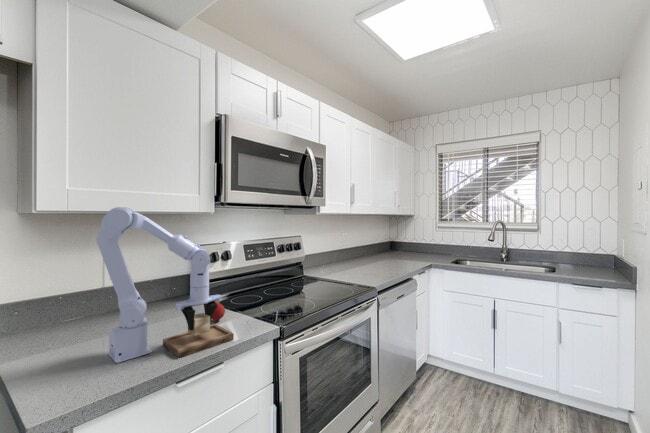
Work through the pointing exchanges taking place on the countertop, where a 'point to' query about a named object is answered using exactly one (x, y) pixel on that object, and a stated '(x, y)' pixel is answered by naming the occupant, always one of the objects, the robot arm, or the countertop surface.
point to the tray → (197, 341)
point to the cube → (200, 324)
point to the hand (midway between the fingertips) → (199, 327)
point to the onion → (218, 312)
